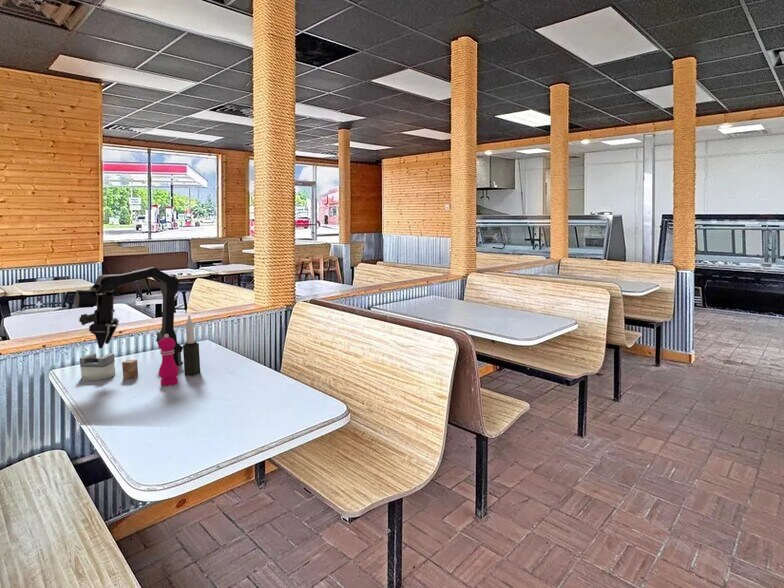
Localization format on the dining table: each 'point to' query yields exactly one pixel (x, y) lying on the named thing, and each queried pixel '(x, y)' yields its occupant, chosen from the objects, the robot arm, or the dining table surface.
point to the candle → (191, 351)
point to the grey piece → (98, 372)
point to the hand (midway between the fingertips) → (103, 345)
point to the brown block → (130, 369)
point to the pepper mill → (168, 362)
